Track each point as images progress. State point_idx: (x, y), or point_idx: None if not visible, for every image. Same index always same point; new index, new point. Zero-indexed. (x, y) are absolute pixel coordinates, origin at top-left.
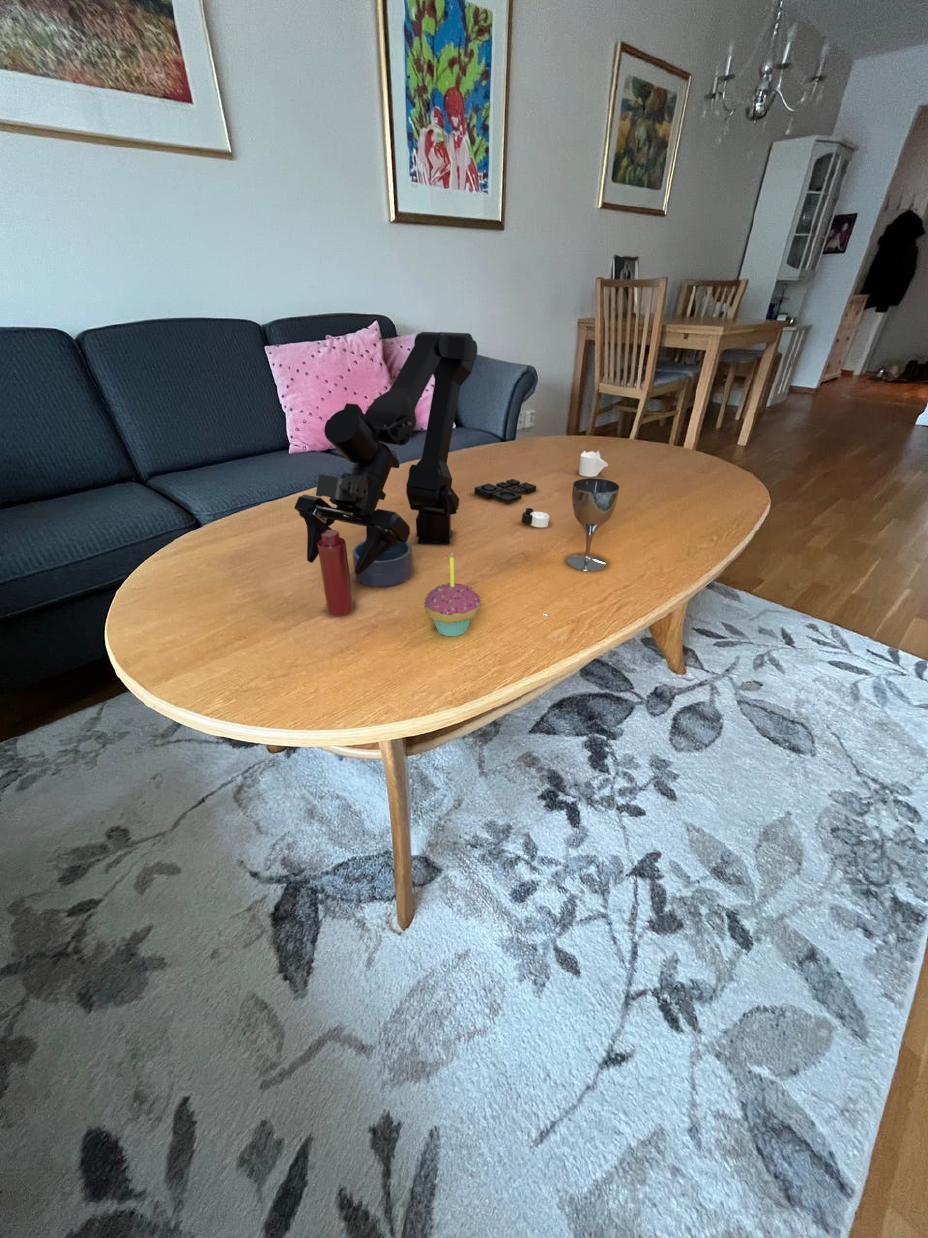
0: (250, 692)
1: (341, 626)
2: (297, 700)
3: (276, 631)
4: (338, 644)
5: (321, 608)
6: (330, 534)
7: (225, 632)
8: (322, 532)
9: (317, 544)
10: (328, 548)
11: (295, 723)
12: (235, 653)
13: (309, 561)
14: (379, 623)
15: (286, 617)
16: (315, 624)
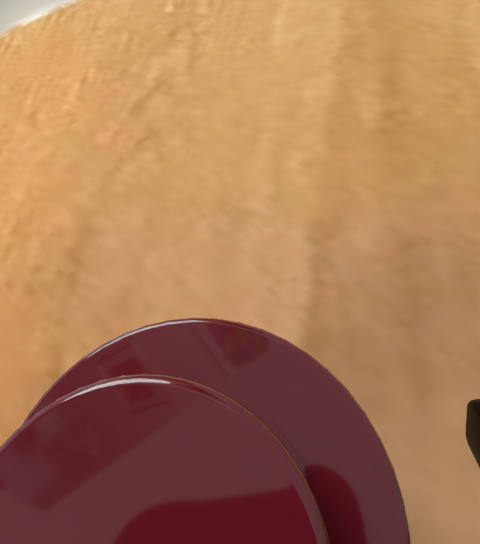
0: (159, 37)
1: None
2: (48, 80)
3: (335, 204)
4: (106, 275)
5: None
6: (56, 518)
7: (461, 110)
8: (288, 491)
9: (298, 349)
10: (94, 355)
11: (7, 46)
12: (328, 80)
13: (467, 406)
14: None
15: (391, 277)
16: (261, 310)
